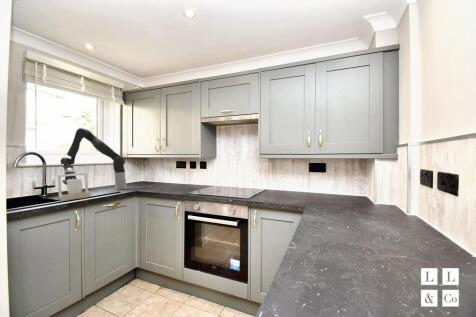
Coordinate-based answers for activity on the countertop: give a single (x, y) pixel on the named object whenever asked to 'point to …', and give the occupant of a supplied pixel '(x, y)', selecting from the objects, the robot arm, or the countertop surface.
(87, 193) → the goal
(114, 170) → the robot arm
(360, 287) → the countertop surface
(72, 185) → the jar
